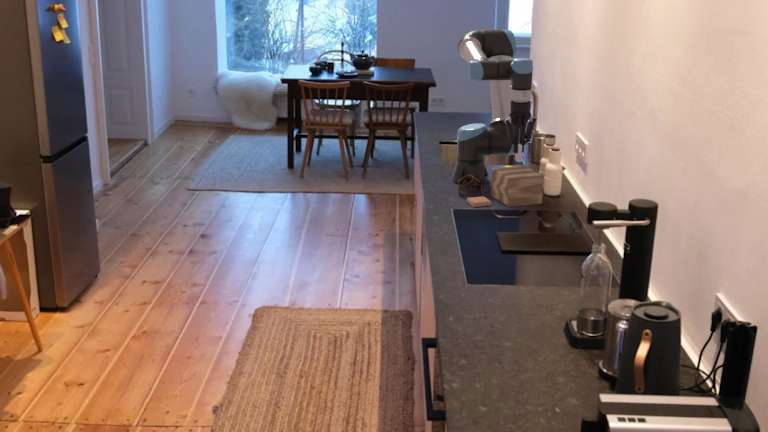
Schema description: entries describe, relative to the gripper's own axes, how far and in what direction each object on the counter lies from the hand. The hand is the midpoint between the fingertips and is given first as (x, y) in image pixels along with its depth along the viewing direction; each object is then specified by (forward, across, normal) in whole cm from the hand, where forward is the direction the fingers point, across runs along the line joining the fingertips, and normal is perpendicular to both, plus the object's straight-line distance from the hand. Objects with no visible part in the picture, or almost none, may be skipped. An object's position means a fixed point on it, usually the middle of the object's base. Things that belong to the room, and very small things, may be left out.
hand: (518, 161), depth 328 cm
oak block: (+15, 0, -1) cm, 15 cm away
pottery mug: (+16, -13, +14) cm, 25 cm away
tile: (+14, -16, -1) cm, 21 cm away
